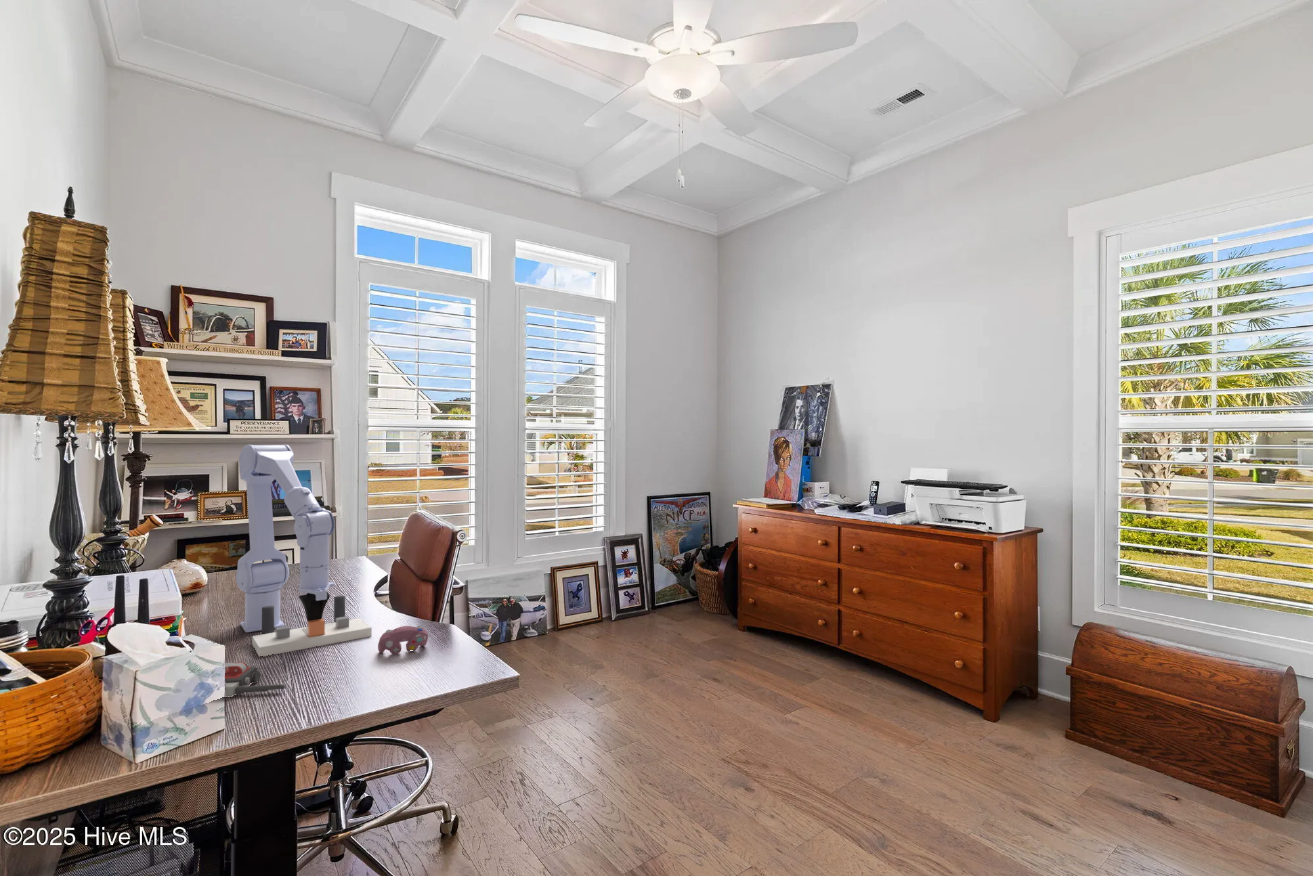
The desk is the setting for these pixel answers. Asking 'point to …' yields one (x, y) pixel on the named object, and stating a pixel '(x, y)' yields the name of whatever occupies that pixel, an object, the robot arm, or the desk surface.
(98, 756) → the desk surface
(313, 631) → the slide switch
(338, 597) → the post
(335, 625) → the off-white rectangular base
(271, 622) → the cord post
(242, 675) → the toy chainsaw
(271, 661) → the desk surface
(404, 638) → the video game controller
